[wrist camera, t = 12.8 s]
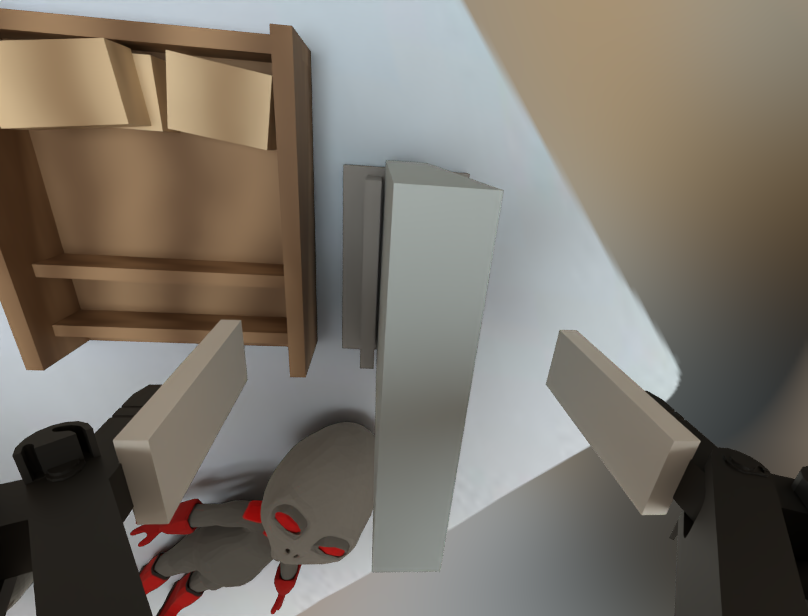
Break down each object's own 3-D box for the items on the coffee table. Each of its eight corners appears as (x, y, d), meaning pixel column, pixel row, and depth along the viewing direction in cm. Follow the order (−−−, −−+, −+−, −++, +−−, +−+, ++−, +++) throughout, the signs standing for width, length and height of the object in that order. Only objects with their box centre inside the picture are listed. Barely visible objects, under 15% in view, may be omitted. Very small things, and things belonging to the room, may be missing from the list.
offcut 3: (194, 130, 22) (167, 128, 19) (194, 62, 21) (165, 49, 18) (280, 149, 23) (266, 150, 20) (286, 84, 21) (272, 75, 19)
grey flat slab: (385, 160, 23) (394, 182, 9) (427, 163, 24) (503, 190, 9) (376, 355, 29) (372, 572, 14) (410, 356, 29) (440, 571, 14)
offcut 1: (35, 130, 20) (1, 128, 18) (6, 52, 19) (-36, 41, 17) (151, 126, 20) (128, 124, 18) (130, 48, 19) (103, 37, 17)
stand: (444, 345, 30) (454, 377, 26) (343, 342, 29) (337, 373, 25) (466, 173, 25) (483, 178, 21) (344, 164, 24) (337, 168, 20)
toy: (55, 597, 33) (260, 466, 21) (131, 495, 41) (309, 360, 29) (207, 662, 38) (438, 585, 26) (248, 560, 46) (438, 468, 35)
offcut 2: (35, 121, 21) (3, 119, 20) (14, 49, 20) (-23, 39, 18) (180, 132, 22) (162, 131, 20) (170, 63, 21) (150, 54, 19)
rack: (85, 333, 28) (26, 370, 23) (-7, 21, 20) (-120, -15, 16) (317, 341, 29) (305, 377, 25) (310, 51, 22) (291, 25, 17)
